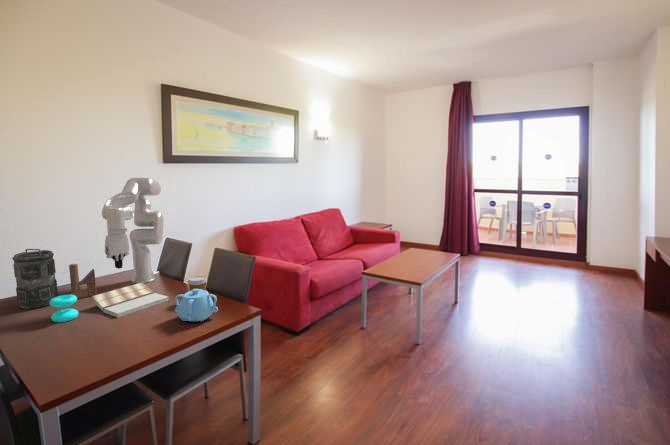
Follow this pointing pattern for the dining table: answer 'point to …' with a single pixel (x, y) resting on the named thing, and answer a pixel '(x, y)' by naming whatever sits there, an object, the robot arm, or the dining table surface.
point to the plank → (120, 295)
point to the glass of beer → (197, 282)
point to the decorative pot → (195, 305)
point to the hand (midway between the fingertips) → (118, 267)
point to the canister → (35, 278)
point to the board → (135, 304)
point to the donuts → (65, 313)
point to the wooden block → (88, 280)
